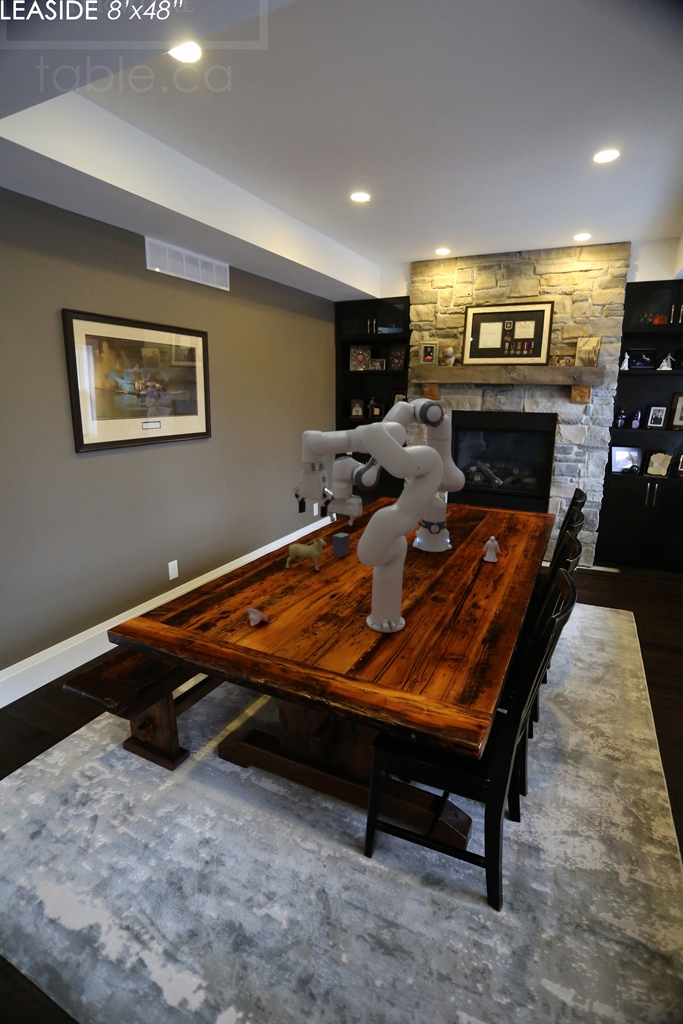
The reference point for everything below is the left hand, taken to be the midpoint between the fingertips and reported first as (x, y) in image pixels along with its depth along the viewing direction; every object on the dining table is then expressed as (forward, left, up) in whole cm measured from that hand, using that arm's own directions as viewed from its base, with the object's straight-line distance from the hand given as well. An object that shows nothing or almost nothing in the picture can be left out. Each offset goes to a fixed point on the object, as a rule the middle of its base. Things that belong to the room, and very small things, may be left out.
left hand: (312, 514), depth 177 cm
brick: (+45, -14, -31) cm, 56 cm away
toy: (+26, +2, -31) cm, 40 cm away
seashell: (-23, +19, -31) cm, 42 cm away
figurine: (+35, -81, -31) cm, 93 cm away
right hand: (+45, -14, -16) cm, 49 cm away
